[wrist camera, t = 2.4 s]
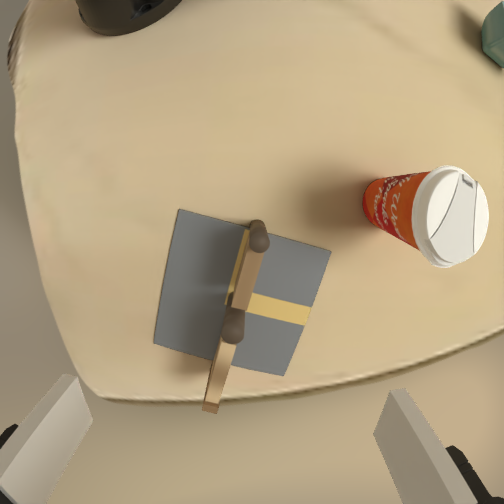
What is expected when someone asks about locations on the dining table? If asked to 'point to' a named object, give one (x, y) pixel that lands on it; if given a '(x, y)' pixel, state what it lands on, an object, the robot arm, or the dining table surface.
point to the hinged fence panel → (218, 375)
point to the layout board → (222, 284)
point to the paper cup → (431, 212)
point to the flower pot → (494, 34)
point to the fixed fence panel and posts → (244, 283)
